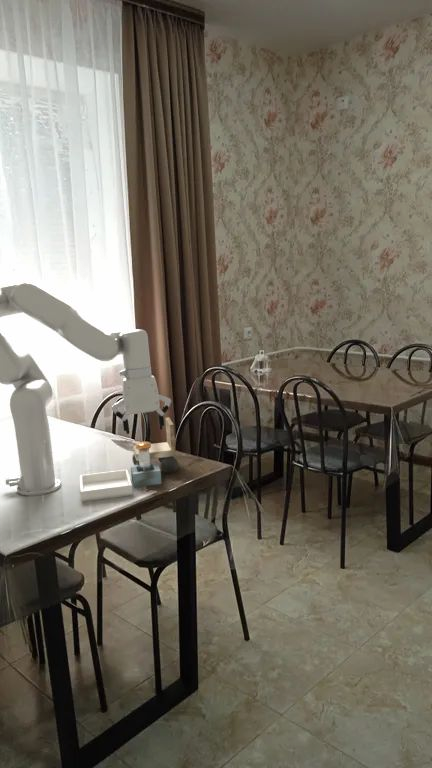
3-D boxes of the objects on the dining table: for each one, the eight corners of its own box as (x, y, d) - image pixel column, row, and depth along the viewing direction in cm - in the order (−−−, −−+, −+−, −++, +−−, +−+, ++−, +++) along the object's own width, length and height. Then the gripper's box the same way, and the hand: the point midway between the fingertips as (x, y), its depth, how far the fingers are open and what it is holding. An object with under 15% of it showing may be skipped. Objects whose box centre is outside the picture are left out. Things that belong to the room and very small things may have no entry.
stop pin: (139, 484, 184) (136, 446, 182) (138, 479, 189) (135, 442, 186) (154, 482, 185) (151, 445, 183) (152, 477, 190) (149, 440, 187)
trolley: (134, 487, 182) (129, 437, 179) (128, 467, 201) (124, 421, 198) (183, 480, 185) (180, 431, 182) (173, 461, 204) (170, 416, 201)
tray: (81, 501, 174) (80, 491, 173) (80, 484, 187) (79, 475, 186) (132, 495, 176) (131, 484, 176) (128, 478, 190) (127, 469, 189)
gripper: (108, 379, 175) (115, 438, 179) (170, 371, 179) (175, 429, 182) (107, 374, 182) (113, 431, 186) (166, 367, 186) (171, 423, 189)
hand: (144, 430), depth 184 cm, fingers open, 9 cm apart
